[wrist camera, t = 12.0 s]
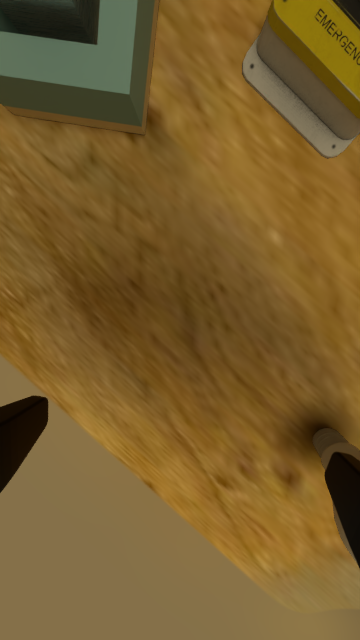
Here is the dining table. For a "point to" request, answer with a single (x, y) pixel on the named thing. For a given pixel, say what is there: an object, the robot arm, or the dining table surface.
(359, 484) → the robot arm
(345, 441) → the lightbulb
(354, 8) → the emergency button
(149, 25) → the socket block
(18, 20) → the grey rectangular block
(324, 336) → the dining table surface
